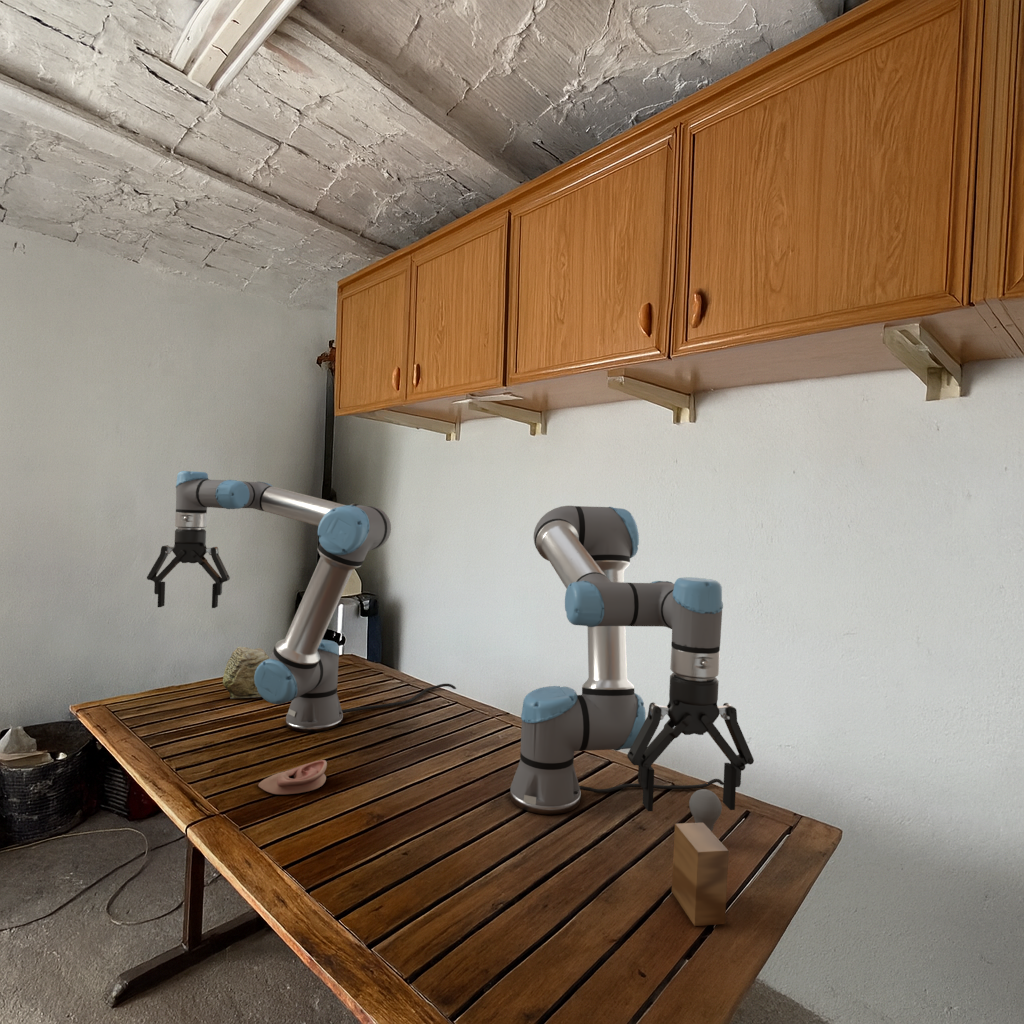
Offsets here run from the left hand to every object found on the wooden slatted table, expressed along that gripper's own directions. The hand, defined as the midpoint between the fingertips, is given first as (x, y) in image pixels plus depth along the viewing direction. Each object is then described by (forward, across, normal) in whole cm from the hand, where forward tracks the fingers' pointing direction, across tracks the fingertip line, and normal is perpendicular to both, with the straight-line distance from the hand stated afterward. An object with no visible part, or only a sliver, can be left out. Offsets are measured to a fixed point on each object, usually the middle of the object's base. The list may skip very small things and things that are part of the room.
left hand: (188, 607), depth 171 cm
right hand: (+15, +104, -88) cm, 137 cm away
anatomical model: (+32, +35, -39) cm, 61 cm away
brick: (+32, +106, -88) cm, 142 cm away
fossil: (+32, +12, +24) cm, 42 cm away
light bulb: (+32, +116, -69) cm, 139 cm away
